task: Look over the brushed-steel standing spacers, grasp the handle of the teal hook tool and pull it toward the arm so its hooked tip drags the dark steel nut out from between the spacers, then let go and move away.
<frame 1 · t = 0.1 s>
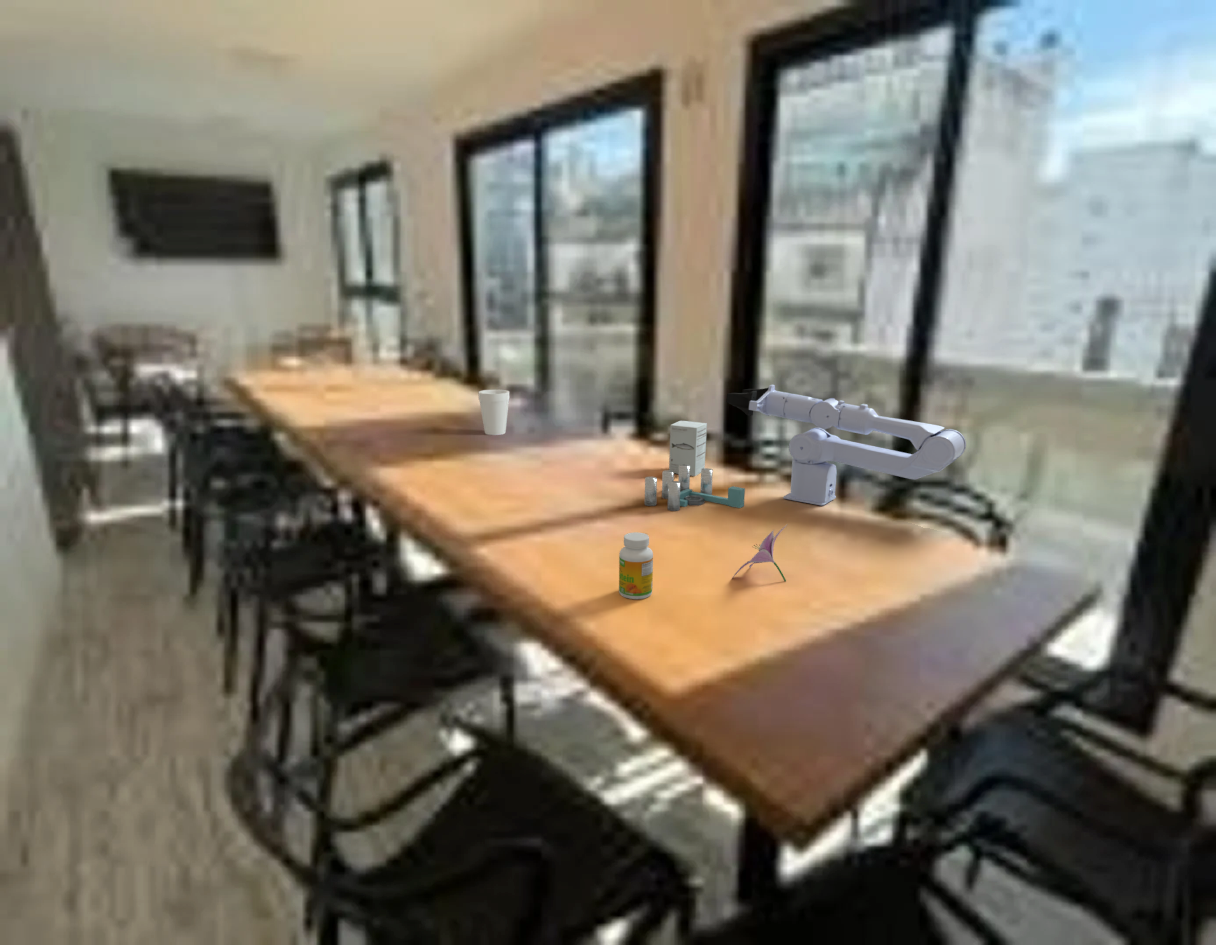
hand: (735, 395, 187), 22 cm above the table, tool horizontal, fingers open, 7 cm apart
supplement box: (687, 472, 205), on the table
foam cup: (495, 433, 251), on the table
lily: (761, 577, 136), on the table
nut: (694, 504, 178), on the table
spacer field: (678, 499, 180), on the table
hook tool: (735, 505, 176), on the table
supplement bottle: (635, 594, 129), on the table
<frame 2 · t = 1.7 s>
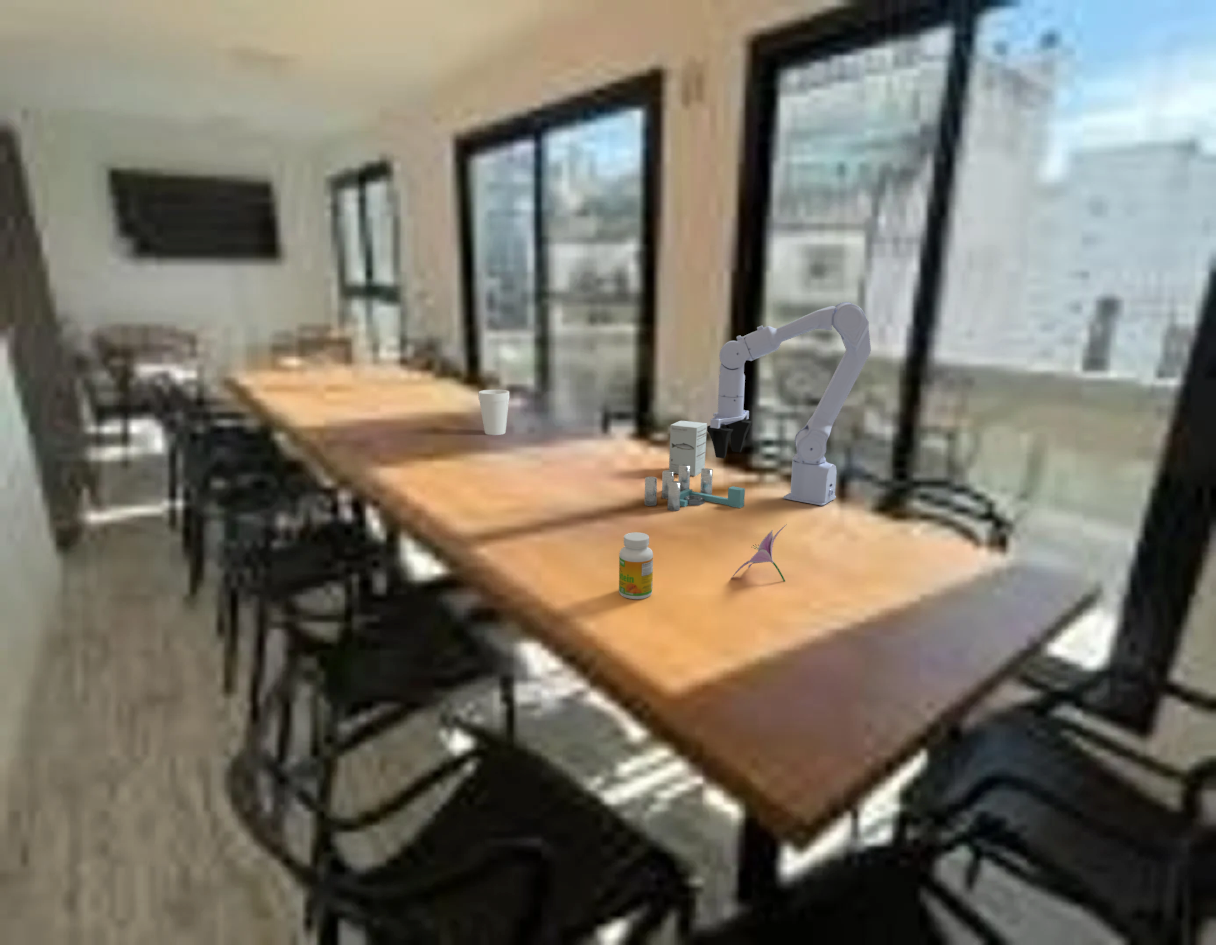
hand: (728, 454, 182), 9 cm above the table, tool pointing down, fingers open, 7 cm apart
nothing on the table moved.
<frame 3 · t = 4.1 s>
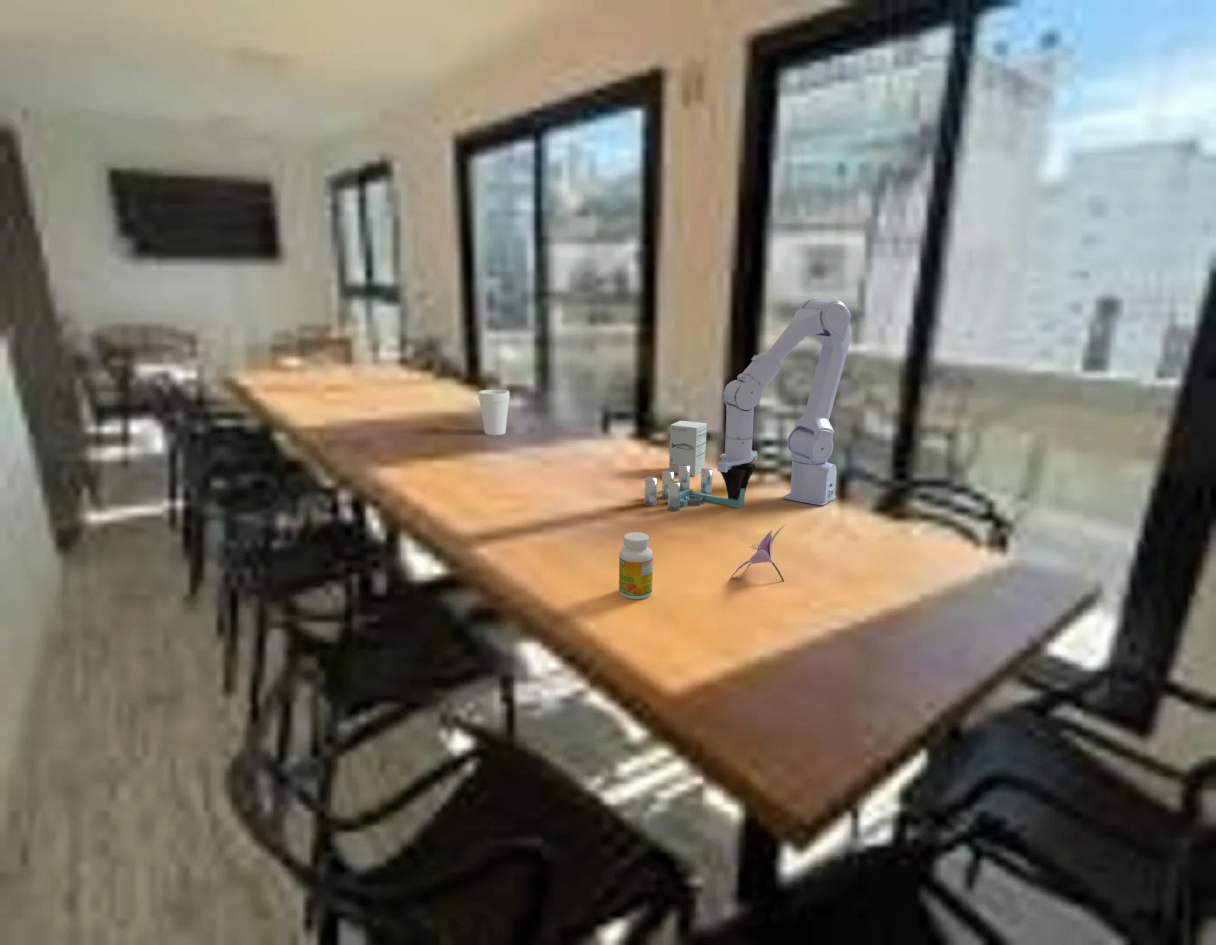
hand: (736, 497, 175), 2 cm above the table, tool pointing down, fingers closed on hook tool, 2 cm apart
hook tool: (735, 505, 176), on the table, touching gripper
everything else where it was.
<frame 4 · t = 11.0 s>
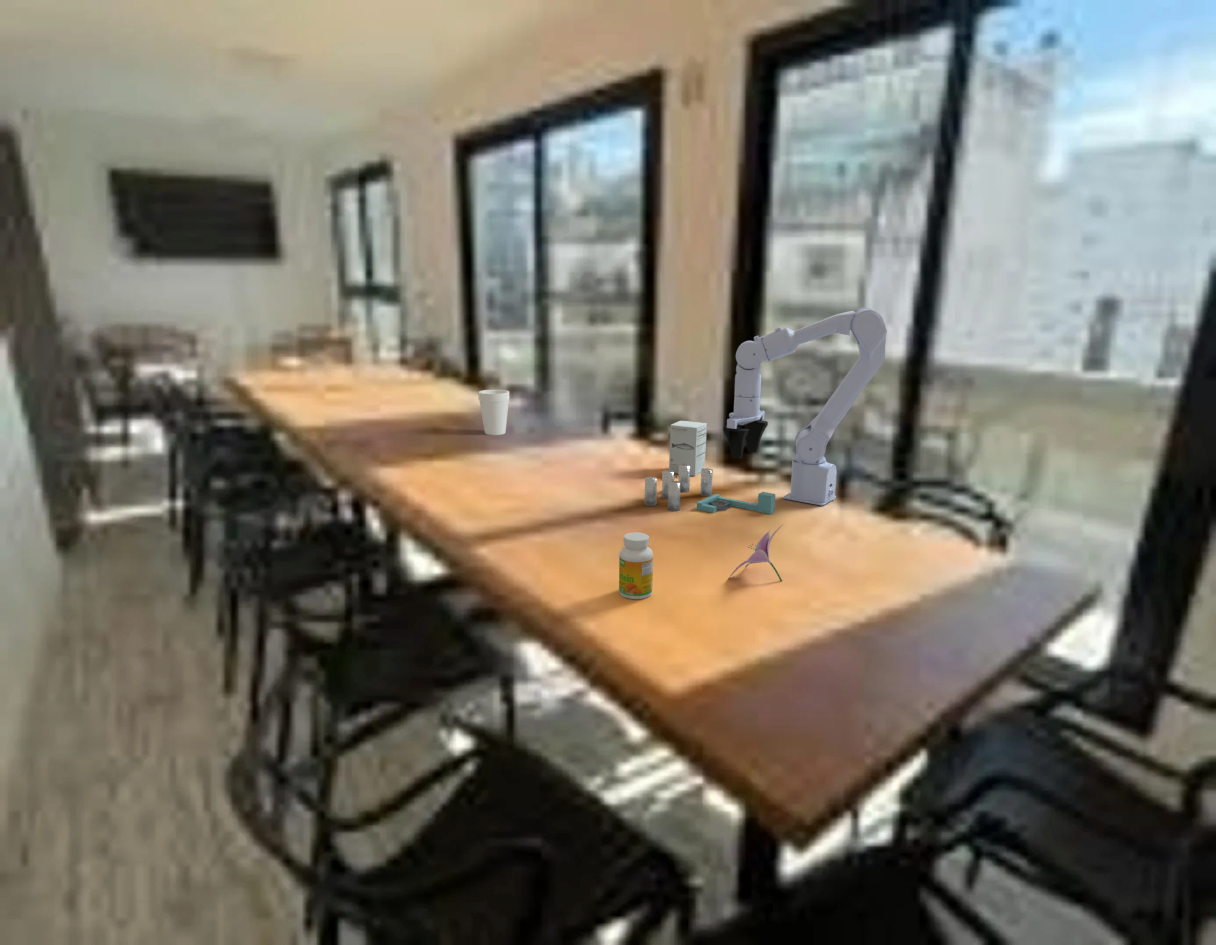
hand: (744, 454, 182), 9 cm above the table, tool pointing down, fingers open, 7 cm apart
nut: (719, 508, 175), on the table
hook tool: (765, 511, 172), on the table
everything else where it was.
at the end: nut inside the target area (2.2 cm from its centre), on the table; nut moved 6.3 cm from its start; the gripper is holding nothing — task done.
